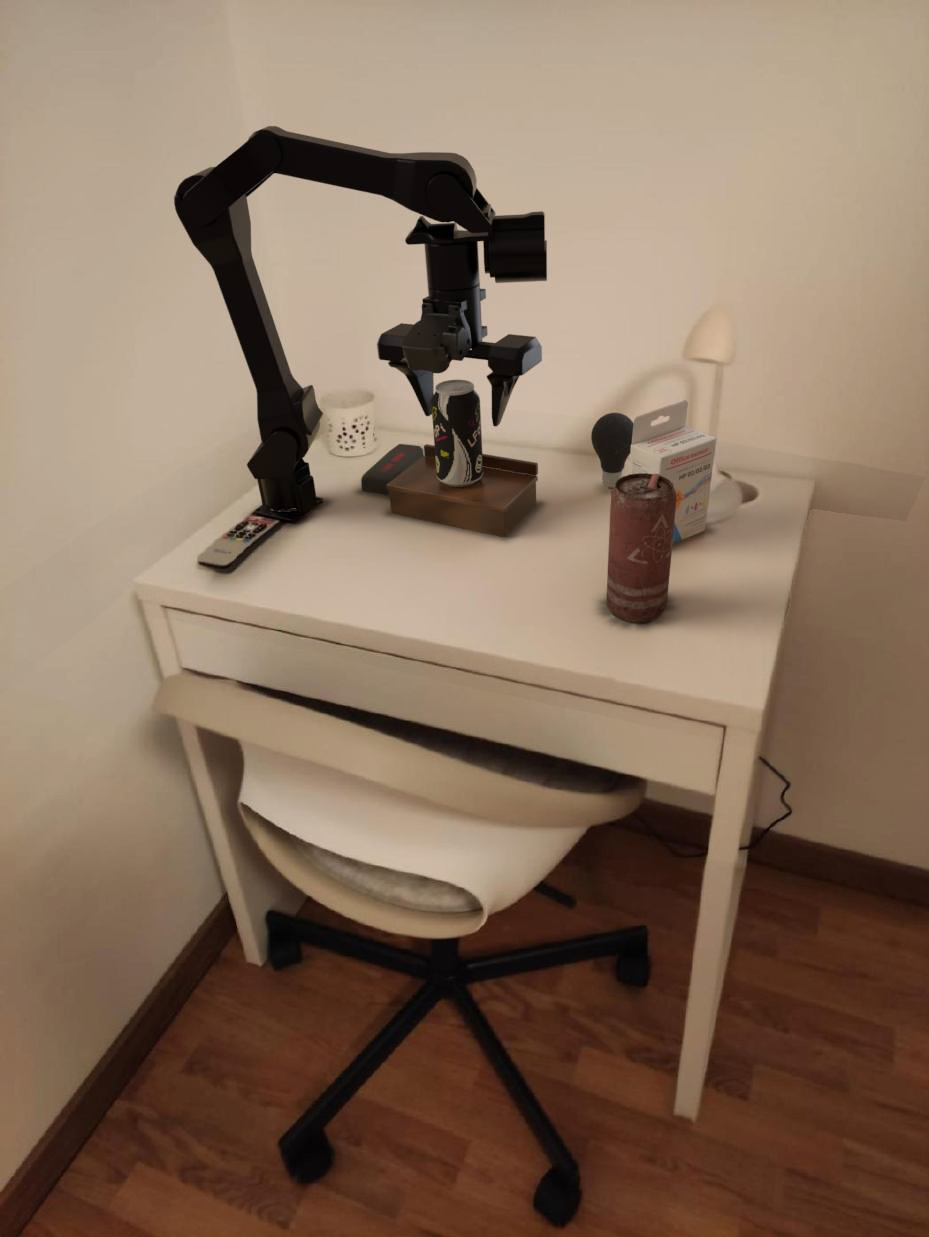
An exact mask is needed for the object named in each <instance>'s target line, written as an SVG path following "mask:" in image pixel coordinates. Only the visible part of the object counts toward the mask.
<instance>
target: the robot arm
mask: <svg viewBox="0 0 929 1237" xmlns="http://www.w3.org/2000/svg"><path fill="white" fill-rule="evenodd" d="M274 174H277V175H282V176H287V177H292V178H295V179H301V180H306V181H309V182H316V183H320V184H325V185H330V186H335V187H339V188H342V189H343V188H344V189H349V190H353V191H359V192H362V193H368V194H372V195H377V196H381V197H383V198H387V199H389V200H391V201H393V202H395V203H397V204H398V205H401V206H402V207H404V208H406V209H407V210H409V211H412V212H413V213H416V214H419V215H420V216H419V217H418V218H417V220H416V223H415V226H414V227H413V228H412V229H411V230H410V231H409V232H408V234H407V235H406V237H405V239H404V241H405V242H404V243H405V244H406V245H408V246H409V245H410V246H412V245H413V246H414V245H424V256H425V269H426V282H427V296H425V297H423V298H422V304H421V316H420V320H418V321H416V322H415V323H414V324H413V323H403V322H402V323H399V324H397V325H395V326H394V327H391V328H390V329H387V330H386V331H384V332H382V333H381V334H380V335H379V337H378V339H377V342H376V349H377V358H378V359H379V361H388V362H387V364H388V366H389V367H390V368H394V369H397V370H398V371H399V372H400V373H402V374H403V375H404V376H405V377H406V379H407V381H408V382H409V385H410V386H411V388H412V391H413V392H414V394H415V396H416V399H417V401H418V402H419V405H420V407H421V409H422V411H423V413H424V416H425V417H430V416H432V406H431V399H432V397H433V395H434V394H435V391H434V390H435V387H434V385H435V384H434V374H442V373H444V372H447V371H448V369H449V367H450V365H451V362H452V361H458V362H462V361H463V360H464V359H465V358H466V359H472V360H473V359H474V360H481V361H482V360H483V361H487V367H488V368H489V369H490V370H491V371H492V372H489V374H487V375H486V379H487V380H488V382H489V384H490V386H491V421H492V426H493V427H498V426H499V425H500V424H501V422H502V421H503V420H502V419H503V417H504V414H505V412H506V409H507V406H508V403H509V401H510V399H511V395H512V393H513V390H514V388H515V387H516V385H517V382H518V380H519V378H520V377H521V376H524V375H525V374H526V373H528V372H529V371H530V370H532V369H533V368H534V367H536V366H537V365H538V364H540V363H542V361H543V346H542V344H541V343H540V341H539V339H538V338H537V336H531V335H523V334H522V335H521V334H512V333H511V334H510V333H508V334H506V335H505V336H504V337H502V338H501V339H499V340H497V341H496V342H489V341H483V338H485V337H487V336H488V325H483V323H482V321H483V320H482V303H481V302H482V301H483V300H485V299H487V291H486V290H487V289H486V288H481V281H480V260H479V242H483V243H482V245H483V268H484V274H486V275H487V274H488V275H489V278H494V280H495V281H494V282H495V284H505V283H506V284H508V283H509V284H510V283H530V282H532V283H533V282H547V281H548V240H547V239H546V225H545V224H546V218H545V217H546V214H545V211H530V212H528V213H523V214H522V213H521V214H504V215H502V214H501V215H496V211H495V209H493V208H494V207H492V204H490V203H489V202H488V200H487V199H486V198H485V197H484V195H483V194H482V192H481V191H480V190H479V188H478V187H477V180H478V179H477V176H476V171H475V170H474V167H473V166H472V164H471V162H470V161H469V160H468V159H467V158H466V157H465V156H464V155H461V154H458V153H456V152H444V151H443V152H440V151H439V152H438V151H437V152H435V151H431V152H430V151H420V152H419V151H418V152H404V153H403V152H402V153H401V152H388V151H387V152H386V151H382V150H377V149H372V148H368V147H363V146H359V145H353V144H349V143H344V142H339V141H335V140H330V139H326V138H320V137H316V136H312V135H306V134H301V133H296V132H292V131H287V130H286V129H283V128H282V127H280V126H276V125H268V126H265V127H262V128H260V129H258V130H256V131H253V132H252V134H250V135H249V136H248V139H247V140H246V141H245V142H244V143H243V144H242V145H241V146H240V147H238V148H237V149H236V150H234V151H233V152H232V153H231V154H230V155H228V156H227V157H226V158H225V159H224V160H222V161H221V162H220V163H219V164H217V165H215V166H209V167H207V168H205V169H203V170H201V171H199V172H197V173H194V174H193V175H190V176H187V177H186V178H184V179H183V180H182V181H181V182H180V183H179V184H178V186H177V189H176V191H175V194H174V196H173V205H174V209H175V212H176V215H177V218H178V219H179V221H180V223H181V224H182V226H183V229H184V230H185V232H186V235H187V236H188V238H189V239H190V242H191V243H192V245H193V246H194V247H195V249H196V250H197V251H198V252H199V254H200V255H202V257H203V258H204V259H205V260H206V262H207V263H208V264H209V265H210V267H211V269H212V271H213V273H214V275H215V279H216V281H217V285H218V287H219V290H220V292H221V295H222V298H223V301H224V304H225V306H226V310H227V312H228V314H229V317H230V321H231V323H232V327H233V329H234V331H235V333H236V337H237V340H238V342H239V345H240V348H241V351H242V354H243V356H244V359H245V363H246V364H247V365H246V366H247V367H248V370H249V373H250V375H251V376H250V377H251V379H252V381H253V384H254V387H255V391H256V414H257V415H256V416H257V418H256V419H257V420H256V421H257V425H258V430H259V436H260V441H261V442H260V444H259V445H258V447H257V448H256V450H255V451H254V453H253V454H252V456H251V457H250V459H249V460H248V462H247V463H246V467H247V469H248V470H249V472H250V474H251V475H252V477H253V479H254V480H257V486H258V490H259V496H260V500H261V504H262V505H260V506H258V507H257V508H256V509H254V514H255V515H256V516H260V517H266V518H270V519H274V520H279V521H282V522H288V523H292V524H293V523H297V522H299V520H301V519H302V518H304V517H305V516H306V515H308V514H310V513H311V512H313V510H314V509H316V508H318V507H319V506H321V505H322V504H323V503H324V498H323V497H320V496H317V492H316V486H315V479H314V476H313V475H312V474H311V470H310V469H311V468H310V464H309V462H307V461H305V460H304V458H305V457H306V455H307V454H308V451H309V450H310V448H311V446H312V445H313V443H314V441H315V439H316V437H317V435H318V433H319V431H320V428H321V419H322V417H323V415H324V412H323V411H322V410H321V408H320V407H319V404H318V402H317V399H316V398H317V397H316V391H315V388H314V385H313V384H310V385H309V384H308V385H307V386H304V387H302V386H301V384H299V382H298V381H297V380H296V379H295V377H294V376H293V374H292V372H291V368H290V366H289V362H288V359H287V357H286V354H285V350H284V346H283V345H282V341H281V339H280V336H279V333H278V330H277V326H276V324H275V320H274V317H273V314H272V311H271V308H270V306H269V302H268V299H267V296H266V294H265V291H264V287H263V284H262V282H261V279H260V275H259V272H258V270H257V267H256V263H255V260H254V258H253V253H252V222H251V221H252V220H251V216H250V210H249V204H248V197H249V196H250V195H252V194H253V193H254V192H255V191H256V190H258V189H259V188H260V187H261V186H262V185H263V184H264V183H265V182H266V181H268V180H269V179H270V178H271V177H272V176H273V175H274ZM425 217H426V218H429V219H431V220H433V221H437V222H438V223H431V222H430V221H428V220H427V219H426V218H425ZM458 226H459V227H461V228H463V230H461V229H459V228H458ZM266 506H267V507H268V508H269V509H273V510H275V509H276V510H281V509H291V508H296V509H297V511H291V512H274V511H271V510H269V509H268V508H267V507H266Z"/></svg>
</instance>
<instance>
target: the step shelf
mask: <svg viewBox="0 0 929 1237" xmlns="http://www.w3.org/2000/svg"><path fill="white" fill-rule="evenodd" d="M423 445H424V452H425V456H423V457H422V458H421V459H419V460H418V461H417V462H415V463H414V464H413V465H412V466H410V467H409V468H408V469H406V470H405V471H404V472H402V473H401V474H400V475H398V476H397V477H396V478H395V479H393V480H392V481H391V482H389V483H388V484H387V485H386V486H387V489H389V495H388V496H389V505H390V513H391V514H393V515H397V516H402V517H408V518H412V519H416V520H422V521H427V522H430V523H431V522H432V523H436V524H441V525H445V526H451V527H455V528H460V529H464V530H469V531H474V532H479V533H483V534H488V535H492V536H498V537H502V538H506V537H507V536H508V535H509V534H510V533H511V531H513V530H514V529H515V528H516V527H517V525H519V523H520V522H521V521H522V520H523V519H524V518H525V517H526V516H527V515H528V514H529V513H530V512H531V511H532V510H533V509H534V508H535V507H536V506H537V482H538V480H539V476H538V474H539V464H538V462H535V461H530V460H529V461H528V460H522V459H516V458H510V457H505V456H498V455H492V454H486V453H482V456H483V476H482V477H481V479H479V480H478V481H476V482H475V483H474V484H472V485H469V486H465V487H452V486H449V485H447V484H445V483H443V482H441V481H440V480H439V479H438V478H437V470H436V458H435V445H434V444H427V443H426V444H423Z"/></svg>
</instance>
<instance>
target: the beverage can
mask: <svg viewBox="0 0 929 1237" xmlns="http://www.w3.org/2000/svg"><path fill="white" fill-rule="evenodd" d="M434 390H435V391H434V395H433V397H432V399H431V406H432V414H431V418H432V430H433V445H434V446H435V458H436V470H437V478H438V479H439V480H440V481H441V482H443V483H445V484H447V485H449V486H452V487H465V486H469V485H472V484H474V483H475V482H476V481H478V480H479V479H481V477H482V476H483V467H484V466H483V456H482V454H483V439H482V436H483V435H482V414H481V399H480V394H479V393H478V392H477V391H476V390H475V384H474V383H473V382H472V381H470V380H467V379H466V380H465V379H447V380H444V381H441V382H439V383H437V384H436V385H435V387H434Z"/></svg>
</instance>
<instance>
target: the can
mask: <svg viewBox="0 0 929 1237" xmlns="http://www.w3.org/2000/svg"><path fill="white" fill-rule="evenodd" d="M676 500H677V495H676V491H675V489H674V486H673V483H672V482H671V481H670V480H669V479H667V478H665V477H663V476H660V474H648V473H637V474H630V475H629V474H627V475H624V476H622V478H620V479H619V480H617V482H616V483H615V487H614V488H613V489H611V491H610V508H609V510H610V512H609V531H608V532H609V533H608V554H607V575H606V576H607V577H606V596H605V598H606V599H605V600H606V601H605V604H606V607H607V609H608V610H609V612H610V613H611V615H612V616H614V617H615V618H617V619H618V620H621V621H623V622H627V623H631V624H644V623H648V622H649V623H650V622H652V621H654V620H657V619H658V618H659V617H661V616H662V614H664V613H665V611H666V608H667V606H668V596H669V588H670V587H669V586H670V577H671V576H670V574H671V566H672V565H671V564H672V553H673V544H674V543H673V532H674V522H675V511H676ZM672 543H673V544H672Z"/></svg>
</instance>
